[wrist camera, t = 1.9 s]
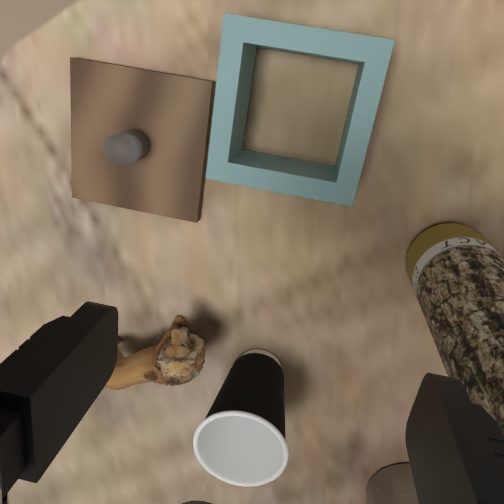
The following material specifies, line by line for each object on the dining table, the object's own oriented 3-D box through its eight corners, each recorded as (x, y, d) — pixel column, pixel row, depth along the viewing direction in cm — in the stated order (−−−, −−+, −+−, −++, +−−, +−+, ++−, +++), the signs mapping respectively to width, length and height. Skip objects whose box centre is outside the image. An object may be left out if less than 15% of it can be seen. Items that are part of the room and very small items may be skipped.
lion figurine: (204, 289, 43) (176, 340, 35) (232, 331, 45) (210, 390, 36) (94, 341, 48) (46, 396, 40) (122, 378, 49) (81, 439, 41)
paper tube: (458, 303, 40) (637, 619, 17) (389, 273, 39) (474, 547, 17) (504, 240, 37) (793, 513, 14) (430, 207, 37) (600, 427, 14)
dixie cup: (310, 385, 45) (305, 473, 35) (245, 408, 48) (223, 496, 38) (273, 324, 43) (257, 400, 33) (207, 352, 46) (174, 430, 36)
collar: (383, 45, 33) (394, 39, 27) (348, 187, 37) (352, 206, 32) (240, 22, 34) (224, 13, 28) (223, 163, 38) (205, 178, 33)
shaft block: (215, 81, 36) (200, 82, 32) (199, 219, 40) (185, 235, 36) (76, 57, 37) (45, 55, 33) (77, 194, 41) (50, 207, 37)
